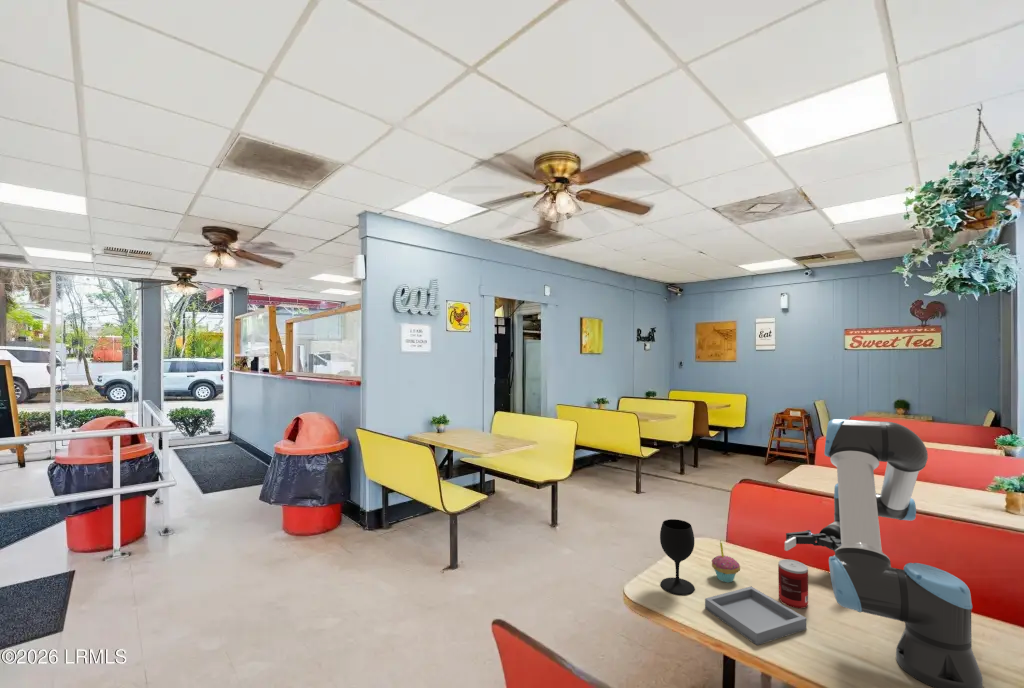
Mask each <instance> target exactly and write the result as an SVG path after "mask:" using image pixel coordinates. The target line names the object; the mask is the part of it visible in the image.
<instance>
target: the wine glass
mask: <svg viewBox="0 0 1024 688" xmlns="http://www.w3.org/2000/svg"><path fill="white" fill-rule="evenodd" d="M659 532H660V533H659V540H660V541H659V542H660V546H661V548H662V550H663V552H664V553H665V555H666V556H667V557H668V558H670V560H672V561H673V562H674V567H675V577H666V578H664V579H662V580H661V581H660V586H661V588H662V589H663V591H665V592H667V593H669V594H673V595H675V596H676V595H677V596H688V595H692V594H693V593H694V592H695V591H696V590H695V589H696V588H695V585H694V584H693V583H692V582H690V581H689V580H686V579H684V578H680V563H681V562H683V561H685V560H686V559H688V558H689V557H690V556H691V555H692V553H693V551H694V547H695V535H694V530H693V527H692V524H691V523H689V522H688V521H685V520H681V519H673V518H672V519H665V520H663V521H662V524H661V527H660V531H659Z"/></svg>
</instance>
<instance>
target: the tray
mask: <svg viewBox="0 0 1024 688" xmlns="http://www.w3.org/2000/svg"><path fill="white" fill-rule="evenodd" d="M704 608H705V610H706V611H708V612H709V613H711V615H713V616H715V618H717V619H720V621H722V622H723V623H724V624H726V625H728V626H729V627H730V628H732V629H733V630H735V631H736V632H737V633H739V634H741V636H743V637H744V638H746V639H747V640H749V641H750V642H752V643H753V644H755V645H756V646H758V645H763V644H765V643H768V642H772V641H774V640H777V639H781V638H784V637H786V636H790V635H793V634H796V633H800V632H803V631H806V630H807V617H806V616H804V615H802V614H800V613H798V612H796V611H795V610H793V609H791V607H789V606H787V605H785V604H784V603H781V602H779V601H777V600H776V599H774V598H772V597H770V596H769V595H767V594H765V593H764V592H762V591H760V590H758V589H757V588H755V587H753V586H747V587H744V588H740V589H735V590H733V591H732V590H731V591H727V592H725V593H724V592H723V593H721V594H717V595H713V596H709V597H705V598H704Z"/></svg>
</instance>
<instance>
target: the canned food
mask: <svg viewBox="0 0 1024 688" xmlns="http://www.w3.org/2000/svg"><path fill="white" fill-rule="evenodd" d="M777 566H778V573H777V574H778V575H777V577H778V579H777V580H778V598H779V601H780V603H781V602H782V604H783V605H784V606H786V607H789V608H794V609H805V608H807V606H808V605H809V569H808V568H809V567H808V566H807V565H806V564H804V563H803V562H800V561H798V560H794V559H789V558H787V559H780V560H779V561H778V565H777Z"/></svg>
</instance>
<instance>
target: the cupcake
mask: <svg viewBox="0 0 1024 688" xmlns="http://www.w3.org/2000/svg"><path fill="white" fill-rule="evenodd" d="M719 541H720V542H719V545H720V555H717V556H715V557H713V558H712V560H711V567H712V569H713V570H714V571H715V574H716V577H717V579H718V580H719V581H721V582H724V583H732V582H733V581H734V580H735V577H736V574H737V573H739V572H740V570H741V565H740V563H739V562H738V561H737V560H735V558H734V557H731V556H728V555H724V554H725V553H724V547H723V542H722V541H721V540H719Z"/></svg>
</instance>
